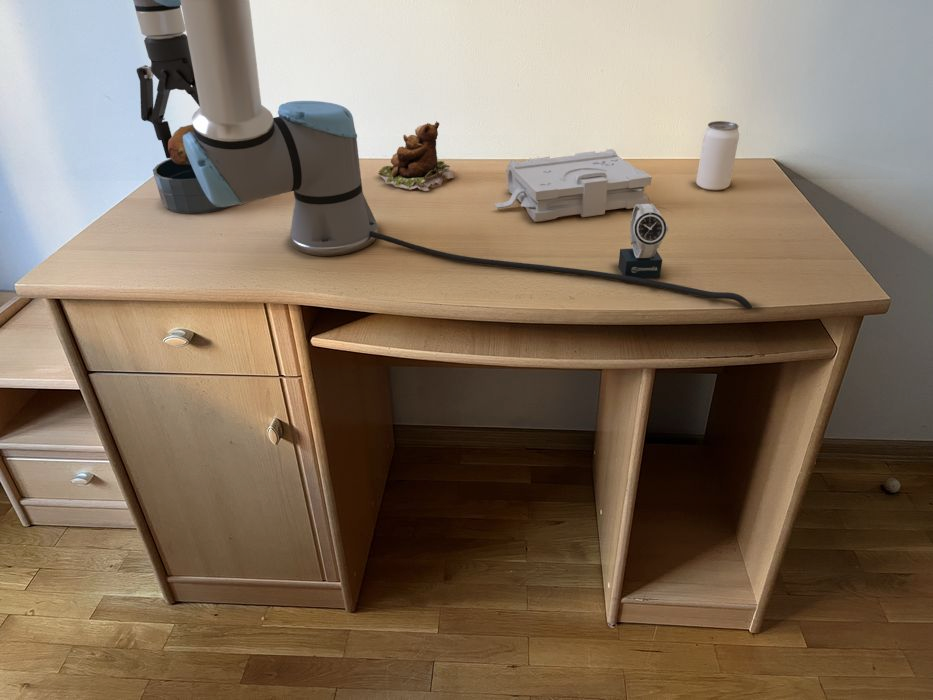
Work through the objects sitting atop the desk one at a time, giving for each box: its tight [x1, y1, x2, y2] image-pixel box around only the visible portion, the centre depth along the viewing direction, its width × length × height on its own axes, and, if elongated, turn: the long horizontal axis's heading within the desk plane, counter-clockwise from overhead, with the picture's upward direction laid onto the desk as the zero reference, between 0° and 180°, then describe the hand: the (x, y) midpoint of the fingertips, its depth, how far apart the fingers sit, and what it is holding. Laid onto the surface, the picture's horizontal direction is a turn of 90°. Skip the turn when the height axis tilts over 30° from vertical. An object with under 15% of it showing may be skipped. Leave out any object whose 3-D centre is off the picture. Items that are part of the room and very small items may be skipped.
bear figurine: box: [377, 120, 455, 192], centre depth 141 cm, size 14×15×12 cm
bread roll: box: [168, 124, 194, 165], centre depth 133 cm, size 10×10×8 cm
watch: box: [617, 203, 670, 279], centre depth 103 cm, size 6×8×11 cm
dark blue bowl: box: [152, 158, 234, 215], centre depth 137 cm, size 17×17×7 cm
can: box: [695, 120, 740, 192], centre depth 133 cm, size 6×6×12 cm
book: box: [493, 148, 652, 222], centre depth 129 cm, size 19×28×8 cm
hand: (196, 156), depth 134 cm, fingers closed on bread roll, 10 cm apart
